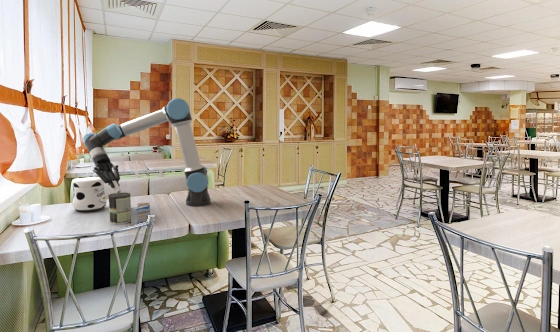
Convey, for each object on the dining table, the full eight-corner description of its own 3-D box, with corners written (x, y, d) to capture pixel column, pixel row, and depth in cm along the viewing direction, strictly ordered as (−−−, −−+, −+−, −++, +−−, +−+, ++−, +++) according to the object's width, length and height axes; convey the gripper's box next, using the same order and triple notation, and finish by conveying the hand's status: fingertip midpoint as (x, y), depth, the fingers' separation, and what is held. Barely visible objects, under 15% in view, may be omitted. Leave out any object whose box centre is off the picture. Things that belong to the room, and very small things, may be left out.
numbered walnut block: (150, 215, 189) (149, 202, 188) (150, 217, 184) (149, 204, 183) (138, 216, 187) (137, 203, 186) (138, 218, 181) (137, 205, 180)
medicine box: (136, 226, 168) (136, 209, 167) (131, 225, 170) (130, 207, 169) (150, 222, 175) (149, 205, 174) (145, 221, 177) (144, 204, 176)
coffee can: (106, 224, 171) (104, 196, 170) (114, 218, 182) (112, 192, 180) (128, 223, 172) (126, 196, 171) (134, 218, 183) (133, 192, 181)
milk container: (111, 209, 201) (109, 179, 199) (79, 215, 189) (76, 182, 187) (100, 204, 213) (98, 175, 211) (69, 209, 200) (66, 179, 198)
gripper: (109, 161, 190) (128, 194, 182) (85, 163, 180) (103, 198, 172) (114, 152, 186) (133, 185, 179) (89, 153, 176) (108, 189, 168)
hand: (118, 192), depth 175 cm, fingers closed
